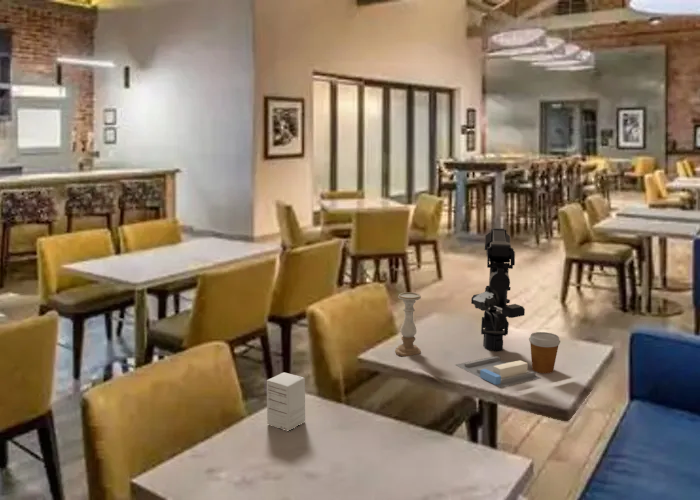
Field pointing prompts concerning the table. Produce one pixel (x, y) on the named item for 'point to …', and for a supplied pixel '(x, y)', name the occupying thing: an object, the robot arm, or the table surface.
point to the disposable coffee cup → (543, 351)
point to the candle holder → (408, 326)
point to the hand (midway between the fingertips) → (496, 331)
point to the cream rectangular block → (510, 369)
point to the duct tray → (474, 371)
